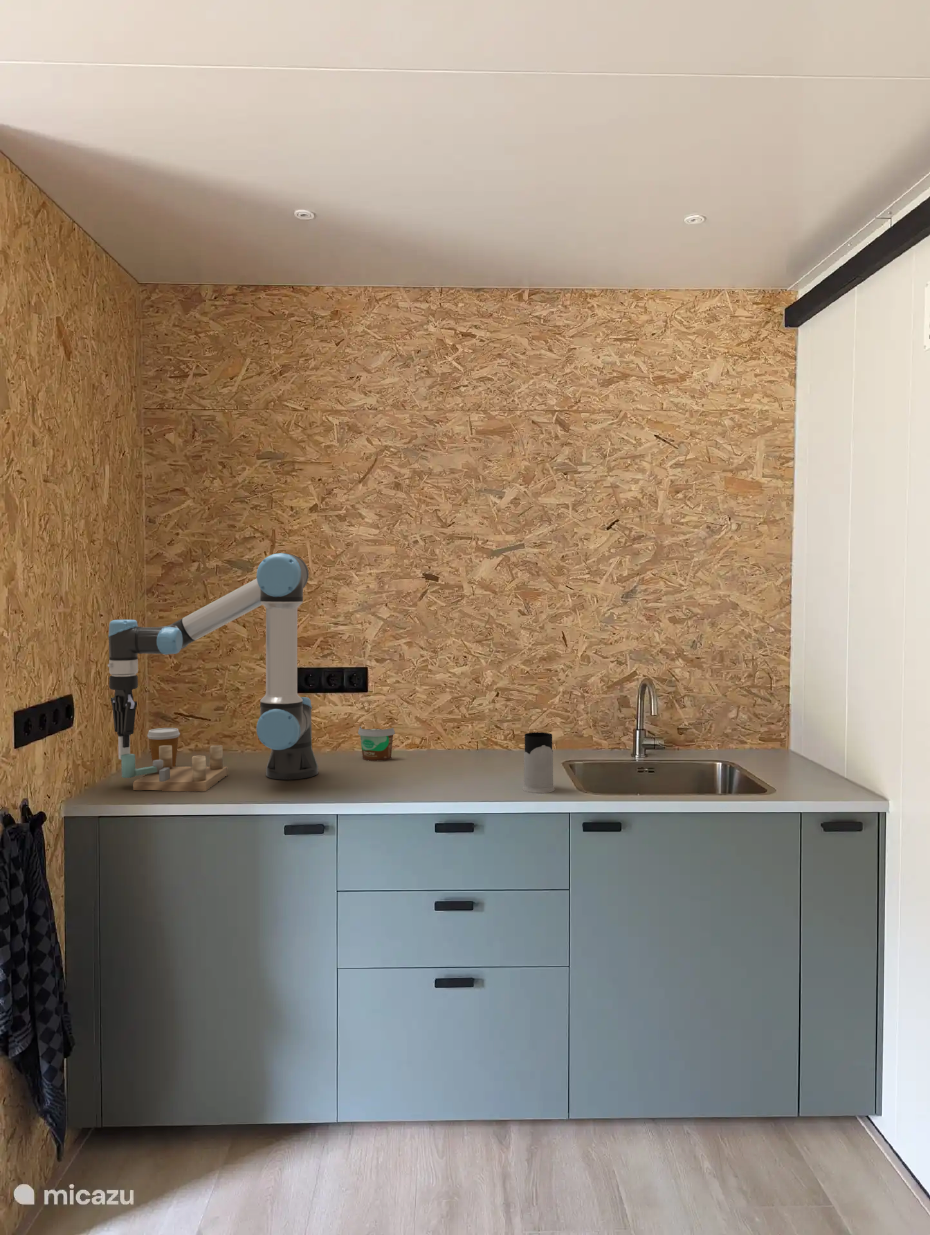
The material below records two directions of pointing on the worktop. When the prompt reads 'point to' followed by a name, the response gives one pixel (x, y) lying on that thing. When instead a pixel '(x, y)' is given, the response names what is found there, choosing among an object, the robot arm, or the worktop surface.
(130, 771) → the hinged leg
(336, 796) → the worktop surface
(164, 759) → the stool seat
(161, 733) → the disposable coffee cup
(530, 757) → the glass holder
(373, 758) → the food container
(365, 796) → the worktop surface
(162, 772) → the block
